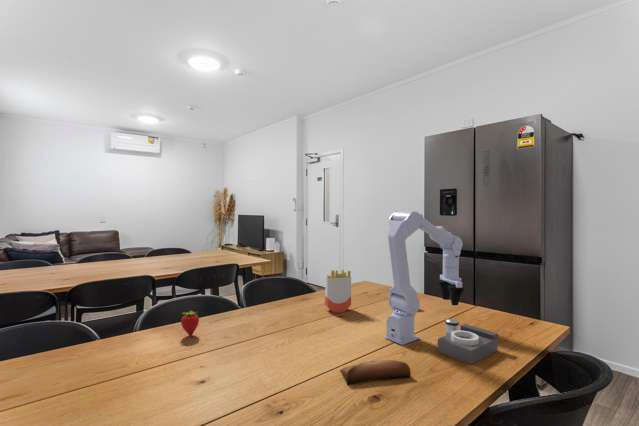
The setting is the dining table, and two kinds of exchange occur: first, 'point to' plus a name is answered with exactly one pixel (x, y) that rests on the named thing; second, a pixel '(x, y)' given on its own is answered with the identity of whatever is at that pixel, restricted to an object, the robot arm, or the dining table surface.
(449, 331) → the lens
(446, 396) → the dining table surface
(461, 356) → the camera body
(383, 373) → the sunglasses case
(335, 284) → the french fries container
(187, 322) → the strawberry
